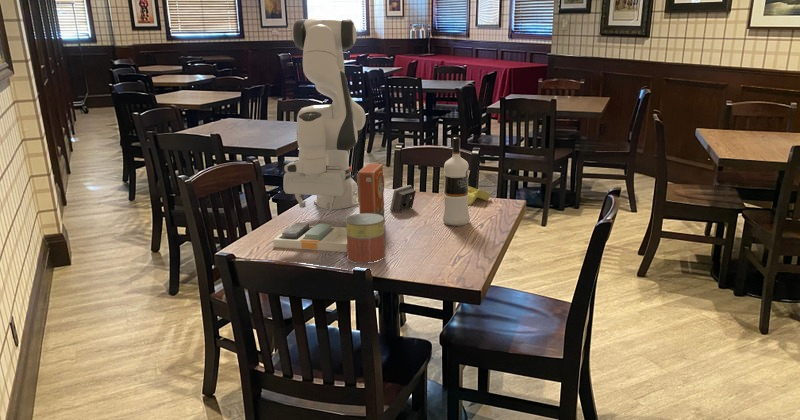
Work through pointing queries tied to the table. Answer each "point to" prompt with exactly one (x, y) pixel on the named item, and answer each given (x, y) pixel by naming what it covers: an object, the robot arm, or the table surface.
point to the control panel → (371, 189)
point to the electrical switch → (402, 199)
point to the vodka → (456, 188)
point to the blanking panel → (318, 232)
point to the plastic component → (475, 194)
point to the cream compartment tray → (317, 241)
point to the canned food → (365, 237)
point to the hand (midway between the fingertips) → (316, 207)
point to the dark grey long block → (296, 231)
